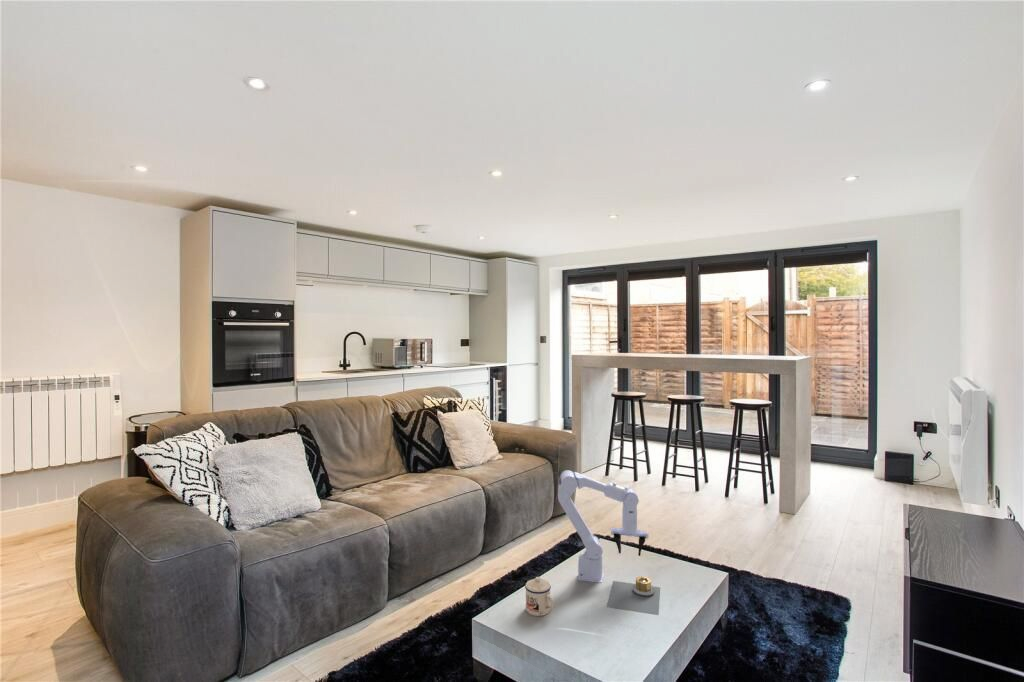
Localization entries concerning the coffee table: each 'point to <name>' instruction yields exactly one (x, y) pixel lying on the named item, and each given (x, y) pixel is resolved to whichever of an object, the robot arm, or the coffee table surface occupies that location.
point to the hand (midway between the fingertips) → (629, 553)
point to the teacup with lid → (538, 597)
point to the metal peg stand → (643, 594)
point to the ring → (643, 584)
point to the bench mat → (633, 599)
